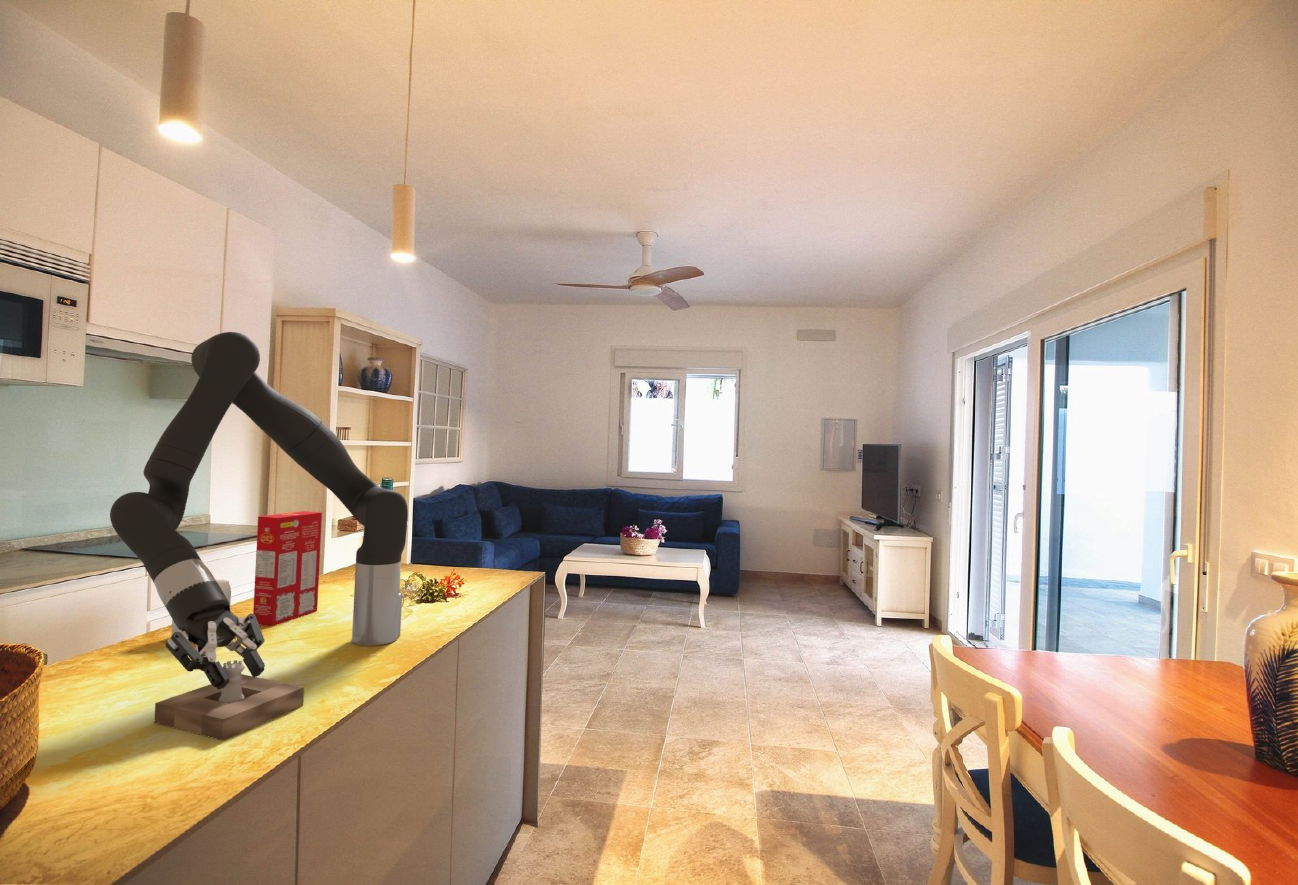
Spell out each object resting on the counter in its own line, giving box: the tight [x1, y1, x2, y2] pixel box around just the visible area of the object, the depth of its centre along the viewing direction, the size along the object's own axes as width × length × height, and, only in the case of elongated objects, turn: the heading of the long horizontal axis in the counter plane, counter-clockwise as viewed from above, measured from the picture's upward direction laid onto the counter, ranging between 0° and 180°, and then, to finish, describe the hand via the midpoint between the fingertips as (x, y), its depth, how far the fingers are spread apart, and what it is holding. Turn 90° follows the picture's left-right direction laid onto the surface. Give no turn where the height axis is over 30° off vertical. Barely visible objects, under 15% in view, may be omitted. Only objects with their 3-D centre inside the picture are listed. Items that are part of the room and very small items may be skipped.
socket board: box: [153, 673, 305, 741], centre depth 102 cm, size 14×14×3 cm
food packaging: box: [252, 510, 323, 627], centre depth 157 cm, size 15×5×25 cm, turn 169°
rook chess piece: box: [218, 659, 246, 704], centre depth 102 cm, size 4×4×8 cm
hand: (242, 679), depth 101 cm, fingers open, 5 cm apart
